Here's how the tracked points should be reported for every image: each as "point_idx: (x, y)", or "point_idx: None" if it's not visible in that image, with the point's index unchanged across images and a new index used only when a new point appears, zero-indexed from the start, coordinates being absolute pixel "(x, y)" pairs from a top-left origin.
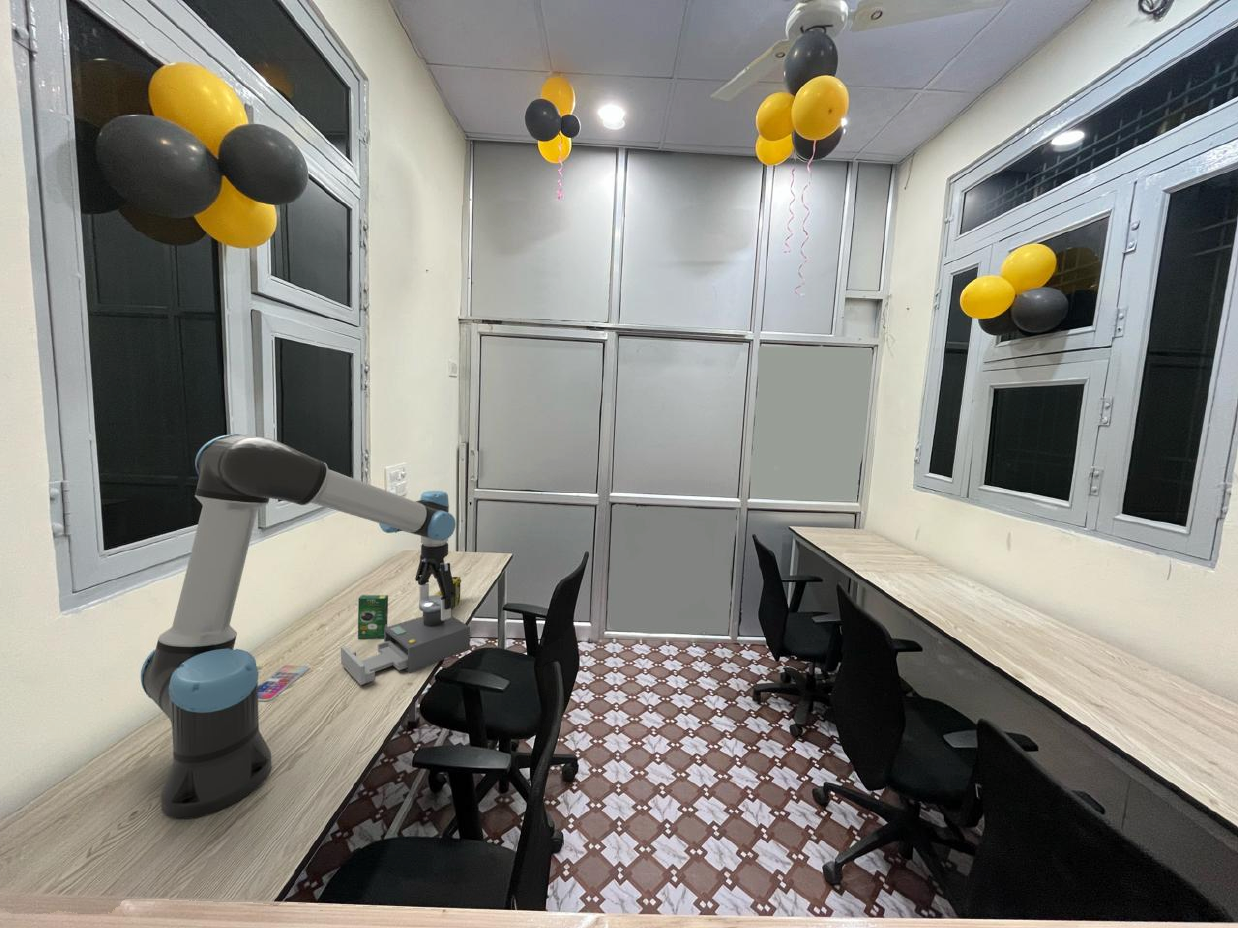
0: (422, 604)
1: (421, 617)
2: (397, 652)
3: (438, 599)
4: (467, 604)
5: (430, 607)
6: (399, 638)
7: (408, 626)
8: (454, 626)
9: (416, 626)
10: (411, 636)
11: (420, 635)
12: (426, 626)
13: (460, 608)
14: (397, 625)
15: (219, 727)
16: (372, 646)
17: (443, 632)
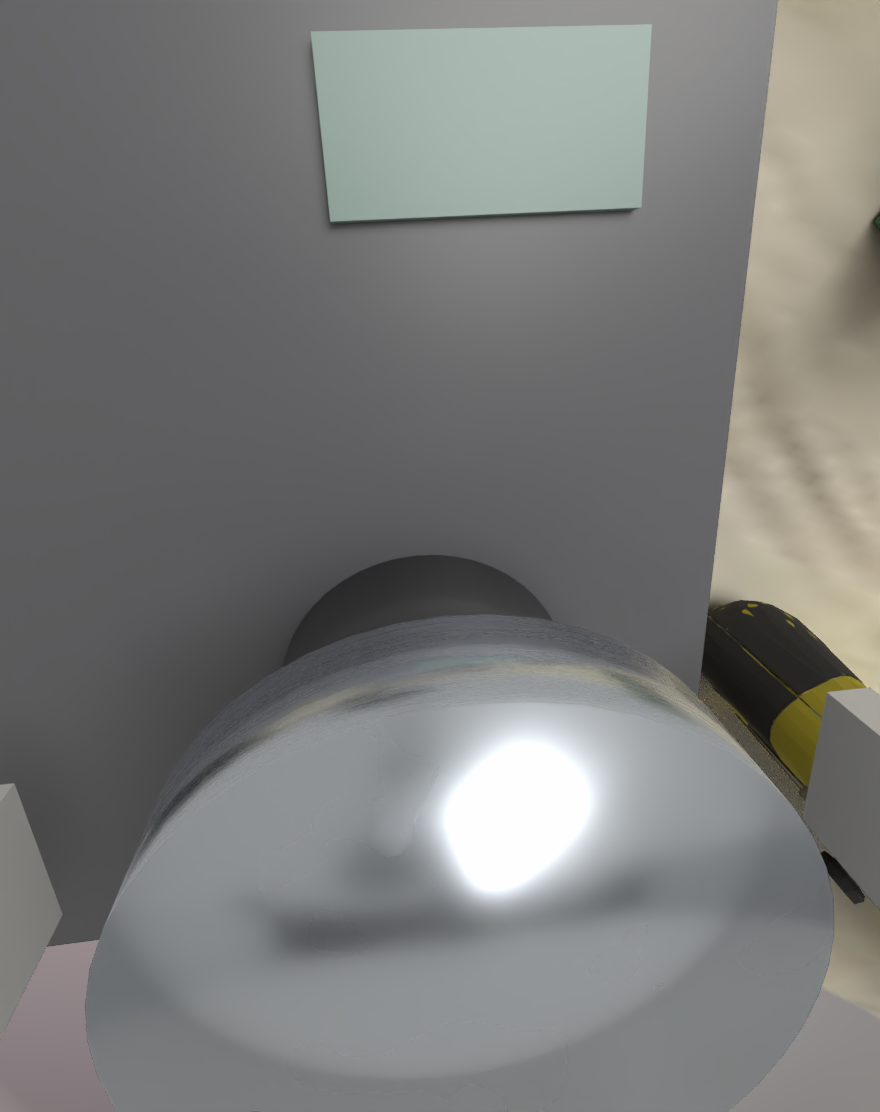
0: (413, 742)
1: (686, 608)
2: None
3: (472, 1084)
4: (855, 970)
5: (157, 838)
6: (156, 9)
7: (537, 350)
8: (131, 830)
9: (452, 449)
10: (129, 239)
11: (87, 377)
12: (357, 562)
13: (840, 919)
14: (699, 216)
15: None
16: (809, 28)
17: (10, 674)
